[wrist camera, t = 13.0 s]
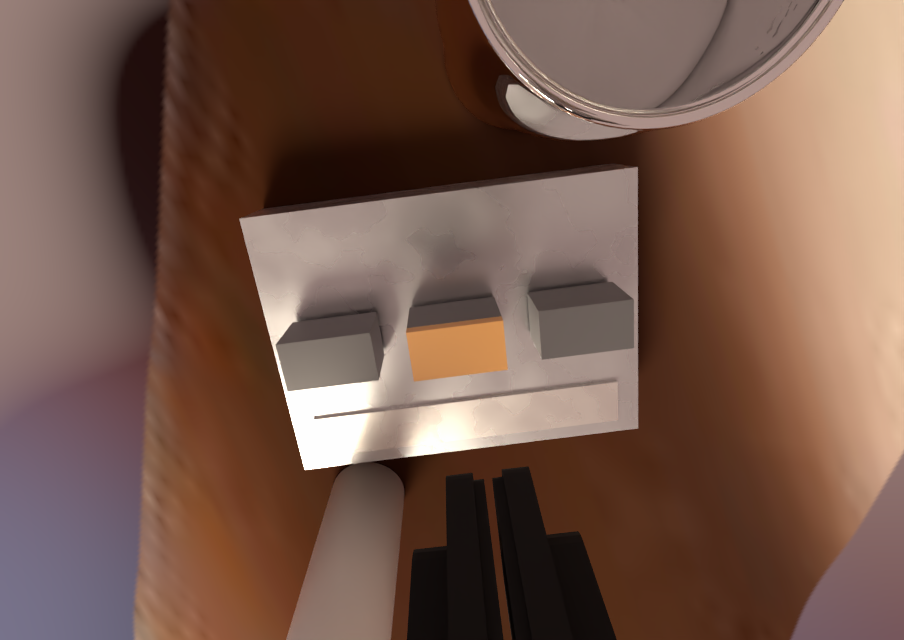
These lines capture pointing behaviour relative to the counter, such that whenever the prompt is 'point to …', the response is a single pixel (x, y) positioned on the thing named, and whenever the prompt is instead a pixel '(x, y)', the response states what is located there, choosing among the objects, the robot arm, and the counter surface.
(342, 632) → the post
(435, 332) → the paddle mid
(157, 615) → the counter surface
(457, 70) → the beer glass
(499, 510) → the robot arm
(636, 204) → the breaker panel
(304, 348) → the grey rectangular box
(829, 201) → the counter surface
